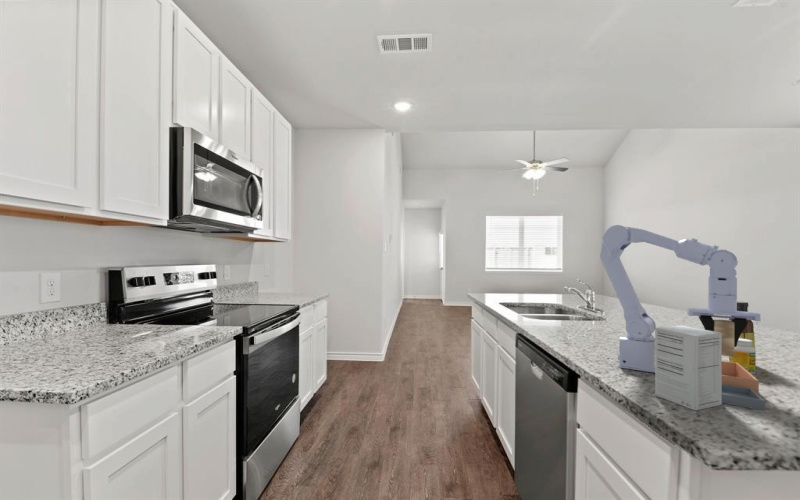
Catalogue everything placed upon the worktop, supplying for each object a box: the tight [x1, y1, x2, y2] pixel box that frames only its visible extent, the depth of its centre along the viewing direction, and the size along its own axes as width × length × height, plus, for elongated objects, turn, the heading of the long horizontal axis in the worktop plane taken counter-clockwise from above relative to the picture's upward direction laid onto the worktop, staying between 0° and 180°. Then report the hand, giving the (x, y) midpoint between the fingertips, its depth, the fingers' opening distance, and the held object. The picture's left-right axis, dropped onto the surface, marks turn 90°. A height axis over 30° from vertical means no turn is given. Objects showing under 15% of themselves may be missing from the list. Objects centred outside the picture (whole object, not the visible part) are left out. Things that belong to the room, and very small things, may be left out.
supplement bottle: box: [731, 338, 757, 375], centre depth 106 cm, size 5×5×10 cm
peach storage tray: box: [721, 360, 760, 396], centre depth 97 cm, size 11×17×4 cm, turn 150°
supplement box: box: [654, 324, 723, 412], centre depth 85 cm, size 10×9×17 cm
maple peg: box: [713, 318, 734, 357], centre depth 96 cm, size 4×4×9 cm
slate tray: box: [722, 384, 766, 411], centre depth 85 cm, size 9×9×2 cm
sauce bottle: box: [728, 300, 756, 362], centre depth 113 cm, size 6×6×20 cm
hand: (722, 344), depth 96 cm, fingers closed on maple peg, 4 cm apart
